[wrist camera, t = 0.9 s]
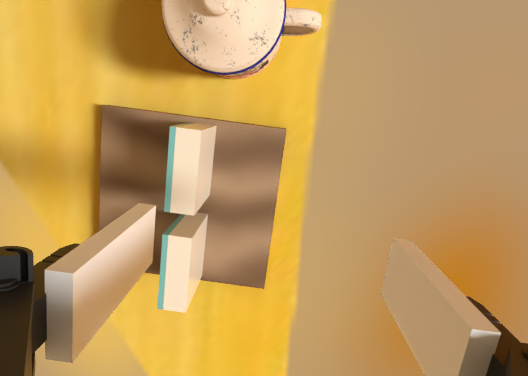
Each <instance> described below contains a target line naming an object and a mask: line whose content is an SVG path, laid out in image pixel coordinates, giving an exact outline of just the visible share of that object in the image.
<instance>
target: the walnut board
mask: <svg viewBox="0 0 528 376" xmlns="http://www.w3.org/2000/svg"><path fill="white" fill-rule="evenodd" d="M190 122H193V123H201V124H208V125H216V136H215V147H214V157H213V167H212V178H211V188H210V195H209V197H208V198H207V199H206V201H205V202H204V203H203V205H202V206H201V207H200V209H199V210H198V211H197V212H198V213H206V214H208V219H207V229H206V240H205V250H204V260H203V271H202V277H201V279H200V280H204V281H211V282H218V283H226V284H233V285H240V286H248V287H255V288H262V289H264V285H265V278H266V271H267V264H268V256H269V249H270V242H271V235H272V228H273V221H274V214H275V207H276V200H277V193H278V185H279V178H280V171H281V164H282V157H283V150H284V143H285V136H286V129H285V128H278V127H270V126H263V125H255V124H248V123H240V122H232V121H225V120H217V119H210V118H202V117H195V116H187V115H179V114H172V113H164V112H157V111H149V110H142V109H134V108H127V107H119V106H111V105H102V127H101V167H100V208H99V231H100V230H102V229H103V228H104V227H106V226H107V225H109V224H110V223H111V222H113V221H114V220H116V219H117V218H119V217H120V216H121V215H123V214H124V213H126V212H127V211H128V210H130V209H131V208H133V207H134V206H135V205H137V204H138V203H143V204H150V205H156V215H155V231H154V247H153V262H152V264H151V265H150V266H149V267H148V269H147V270H146V271H145V273H152V274H160V264H161V250H162V235H163V233H164V232H165V231H166V230H167V229H168V228H169V227H170V225H171V224H172V223H173V222H174V221H175V220H176V219H177V218H178V217H179V215H180V214H178V213H170V212H164V205H165V190H166V176H167V161H168V146H169V131H170V126H174V125H179V124H184V123H190Z"/></svg>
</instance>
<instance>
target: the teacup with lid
mask: <svg viewBox="0 0 528 376" xmlns="http://www.w3.org/2000/svg"><path fill="white" fill-rule="evenodd" d="M161 9H162V18H163V23H164V27H165V30H166V33H167V35H168V37H169V39H170V41H171V43H172V45H173V46H174V47H175V49H176V50H177V51H178V53H179V54H180V55H181V56H182V57H183V58H184V59H185V60H186V61H188V62H189V63H190V64H192V65H193V66H195V67H197V68H199V69H201V70H203V71H205V72H209V73H213V74H218V75H220V76H222V77H226V78H230V79H243V78H248V77H251V76H253V75H256V74H258V73H259V72H261V71H262V70H264V69H265V68H266V67H267V66H268V65H269V64H270V63H271V61H272V60H273V59H274V57H275V55H276V53H277V51H278V49H279V46H280V42H281V36H302V35H309V34H312V33H315V32H317V31H318V30H319V29H320V28H321V23H322V17H321V15H320V14H319V13H318V12H316V11H313V10H309V9H302V8H286V0H161Z"/></svg>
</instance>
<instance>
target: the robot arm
mask: <svg viewBox="0 0 528 376" xmlns="http://www.w3.org/2000/svg"><path fill="white" fill-rule="evenodd" d="M155 215H156V205H150V204H143V203H138V204H137V205H135V206H134V207H133V208H131V209H130V210H128V211H127V212H126V213H124V214H123V215H121V216H120V217H119V218H117V219H116V220H114V221H113V222H111V223H110V224H109V225H107V226H106V227H104V228H103V229H102V230H100V231H99V232H97V233H96V234H94V235H93V236H92V237H90V238H89V239H87V240H86V241H85V242H83V243H82V244H75V243H74V244H71V245H68V246H65V247H63V248H60V249H58V250H57V251H55V252H54V253H53V254H51V255H50V256H48V257H46V258H45V259H43V260H42V262H41V261H40V262H39V263H37V264H36V265H34V266H33V252H32V250H29V249H28V248H25V247H18V246H4V247H0V376H34V375H35V351H36V350H37V349H38V348H39V347H40V346H41V345H42V344H43V343H44V342H45V345H46V347H45V350H46V351H45V353H46V359H49V360H56V361H63V362H70V363H73V361H74V360H75V359H76V358H77V356H78V355H79V354H80V352H81V351H82V350H83V349H84V347H85V346H86V345H87V343H88V342H89V341H90V340H91V339H92V338H93V336H94V335H95V334H96V333H97V331H98V330H99V329H100V328H101V326H102V325H103V324H104V323H105V321H106V320H107V319H108V318H109V316H110V315H111V314H112V312H113V311H114V310H115V309H116V307H117V306H118V305H119V304H120V302H121V301H122V300H123V299H124V297H125V296H126V295H127V294H128V292H129V291H130V290H131V289H132V287H133V286H134V285H135V284H136V282H137V281H138V280H139V279H140V277H141V276H142V275H143V274H144V272H145V271H146V270H147V269H148V267H149V266H150V265H151V264H152V262H153V247H154V231H155ZM381 295H382V297H383V299H384V301H385V303H386V305H387V307H388V308H389V310H390V312H391V314H392V316H393V318H394V320H395V321H396V323H397V325H398V327H399V329H400V331H401V333H402V334H403V336H404V338H405V340H406V342H407V344H408V346H409V347H410V349H411V351H412V353H413V355H414V356H415V358H416V360H417V362H418V364H419V366H420V368H421V370H422V371H423V373H424V375H425V376H528V344H527V343H520V342H519V340H518V339H516V338H515V337H514V336H513V335H512V334H511V333H510V332H509V331H508V330H507V329H506V328H505V327H504V326H503V325H502V324H500V322H499V321H498V320H497V319H496V318H495V317H494V316H492V314H491V313H490V312H489V311H488V310H487V309H486V308H485V307H484V306H483V305H481V304H480V303H478V302H476V301H475V300H473V299H472V298H470V297H467V296H465V295H464V294H463V293H462V292H461V291H460V290H459V289H458V288H457V287H456V286H455V285H454V284H453V283H452V282H451V281H450V280H449V279H448V278H447V277H446V276H445V275H444V274H443V273H442V272H441V271H440V270H439V269H438V268H437V267H436V266H435V265H434V264H433V263H432V262H431V261H430V259H428V257H427V256H426V255H425V254H424V253H423V252H422V251H421V250H420V249H419V248H418V247H417V246H416V245H415V244H414V243H413V242H412V241H411V240H406V239H399V238H393V242H392V246H391V250H390V255H389V259H388V263H387V268H386V272H385V277H384V281H383V286H382V290H381Z"/></svg>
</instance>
